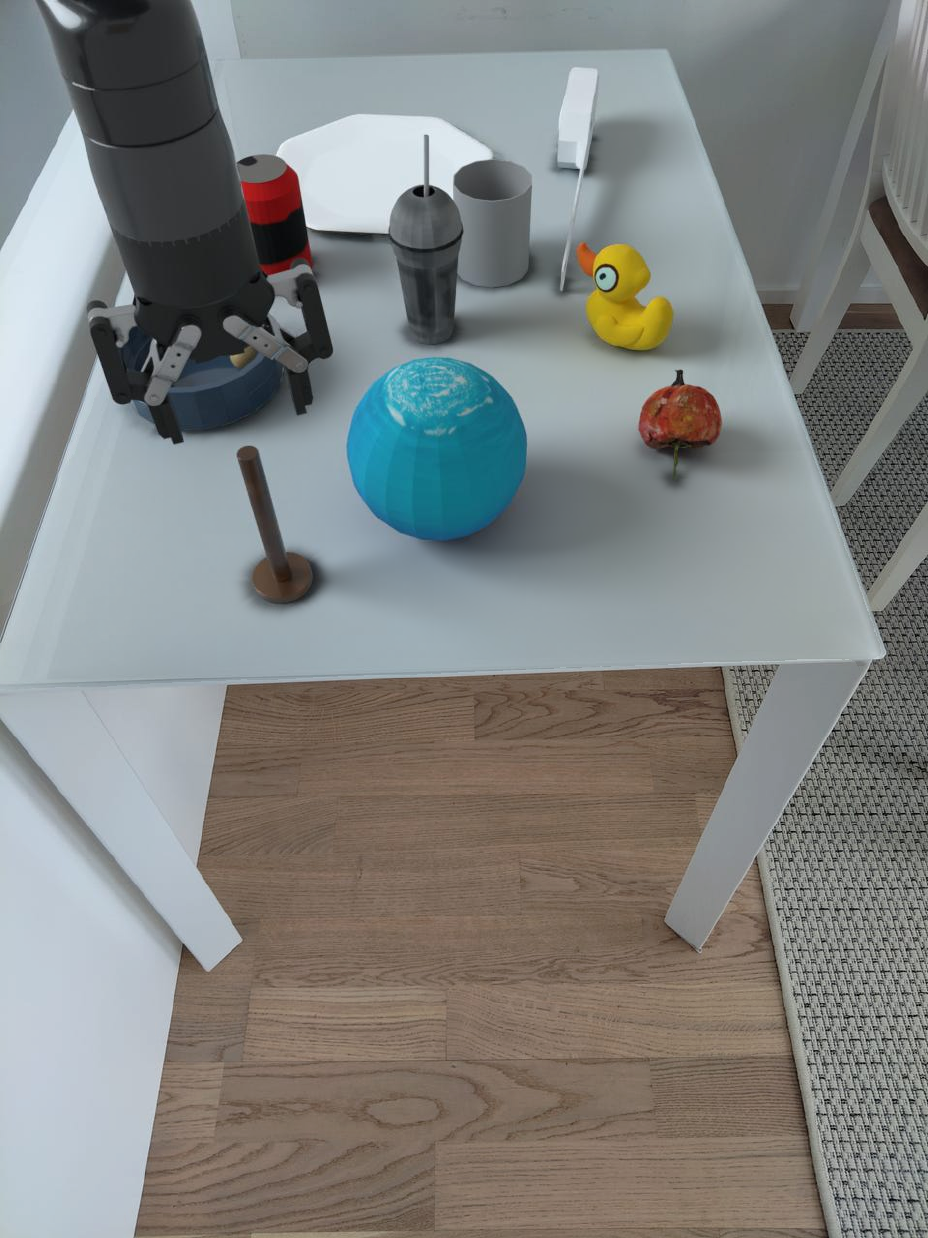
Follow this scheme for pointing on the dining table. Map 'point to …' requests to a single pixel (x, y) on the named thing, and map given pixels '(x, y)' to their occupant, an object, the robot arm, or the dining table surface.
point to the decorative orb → (437, 448)
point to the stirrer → (271, 539)
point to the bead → (244, 357)
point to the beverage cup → (427, 256)
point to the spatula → (576, 133)
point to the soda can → (274, 212)
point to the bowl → (209, 386)
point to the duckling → (623, 298)
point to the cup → (493, 221)
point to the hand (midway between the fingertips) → (239, 421)
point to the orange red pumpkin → (680, 418)
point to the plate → (373, 167)
